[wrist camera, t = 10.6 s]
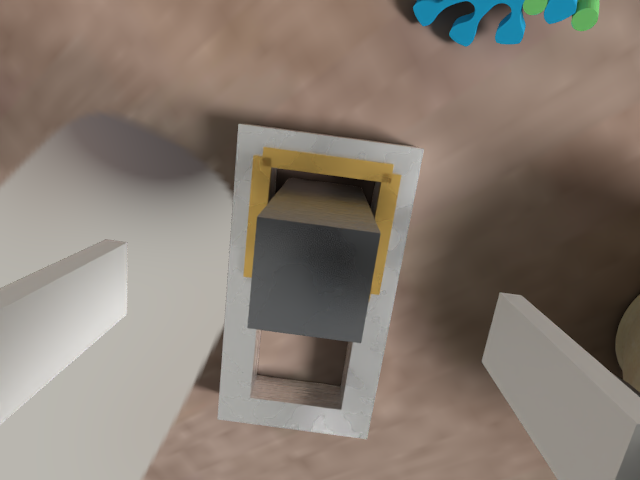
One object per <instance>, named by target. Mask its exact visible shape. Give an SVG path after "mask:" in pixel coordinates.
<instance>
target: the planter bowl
mask: <svg viewBox="0 0 640 480" xmlns="http://www.w3.org/2000/svg"><path fill="white" fill-rule="evenodd" d="M615 350H616V355H617V360H618V363H619V365H620V367H621V369H622V371H623V380H624V381H626V382H628V383H629V384H630V385H631V386H633V387H634V388H635V389H636V390H637V391H638V392H640V294H639V295H638V296H637V297H636V299H635V300H634V301H633V302H632V303H631V304H630V306H629V307H628V309H627V310H626V312H625V313H624V315H623V317H622V319H621V321H620V324H619V326H618V330H617V335H616V342H615Z"/></svg>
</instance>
